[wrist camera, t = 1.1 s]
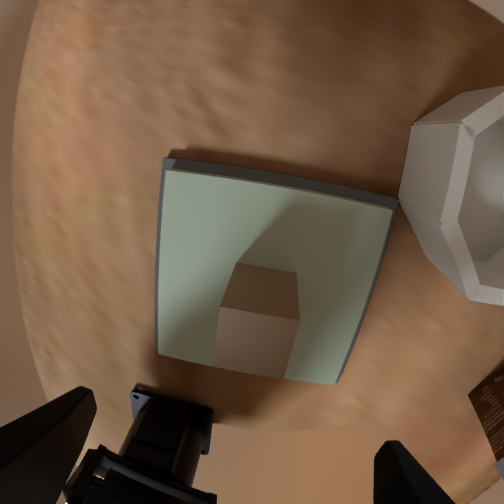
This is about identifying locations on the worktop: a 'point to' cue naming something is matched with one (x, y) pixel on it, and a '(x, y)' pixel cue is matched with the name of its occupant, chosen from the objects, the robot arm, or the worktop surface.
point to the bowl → (460, 191)
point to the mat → (280, 180)
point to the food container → (492, 413)
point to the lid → (263, 275)
